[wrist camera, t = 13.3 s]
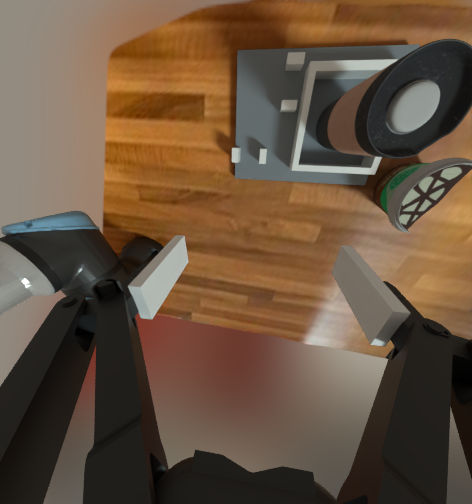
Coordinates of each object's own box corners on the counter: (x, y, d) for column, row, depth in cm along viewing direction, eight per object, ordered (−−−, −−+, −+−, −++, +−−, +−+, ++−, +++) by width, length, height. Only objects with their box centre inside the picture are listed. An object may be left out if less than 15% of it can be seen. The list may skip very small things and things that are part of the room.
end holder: (289, 167, 36) (291, 170, 32) (305, 70, 28) (310, 61, 25) (364, 171, 34) (374, 174, 31) (402, 69, 26) (422, 58, 23)
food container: (402, 142, 32) (450, 142, 24) (431, 157, 32) (487, 162, 24) (353, 204, 39) (376, 221, 30) (377, 215, 39) (407, 235, 31)
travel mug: (320, 97, 29) (390, 36, 13) (369, 97, 29) (517, 32, 12) (309, 150, 33) (350, 158, 17) (352, 151, 33) (442, 162, 16)
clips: (234, 161, 36) (231, 162, 34) (236, 61, 29) (233, 54, 26) (285, 163, 35) (287, 164, 33) (302, 60, 28) (305, 51, 25)
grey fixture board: (236, 176, 40) (234, 178, 38) (239, 54, 29) (237, 50, 28) (361, 183, 36) (364, 185, 35) (412, 49, 26) (419, 44, 25)
